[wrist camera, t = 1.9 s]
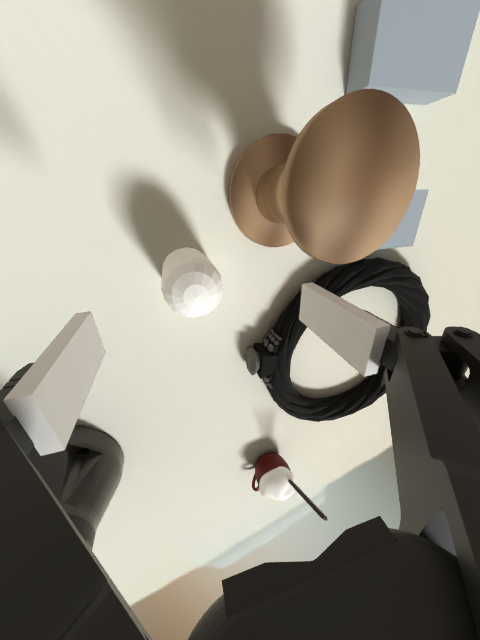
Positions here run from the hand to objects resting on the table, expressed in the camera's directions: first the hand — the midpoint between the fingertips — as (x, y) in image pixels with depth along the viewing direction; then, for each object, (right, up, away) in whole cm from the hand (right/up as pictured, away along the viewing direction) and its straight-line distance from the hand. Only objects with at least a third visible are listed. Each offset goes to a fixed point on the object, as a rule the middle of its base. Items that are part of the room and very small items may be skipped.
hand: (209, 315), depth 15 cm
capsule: (-4, +5, +10) cm, 12 cm away
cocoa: (+7, -27, +29) cm, 40 cm away
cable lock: (+17, -4, +22) cm, 28 cm away
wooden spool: (+6, +13, +9) cm, 17 cm away
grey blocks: (+17, +18, +10) cm, 27 cm away
